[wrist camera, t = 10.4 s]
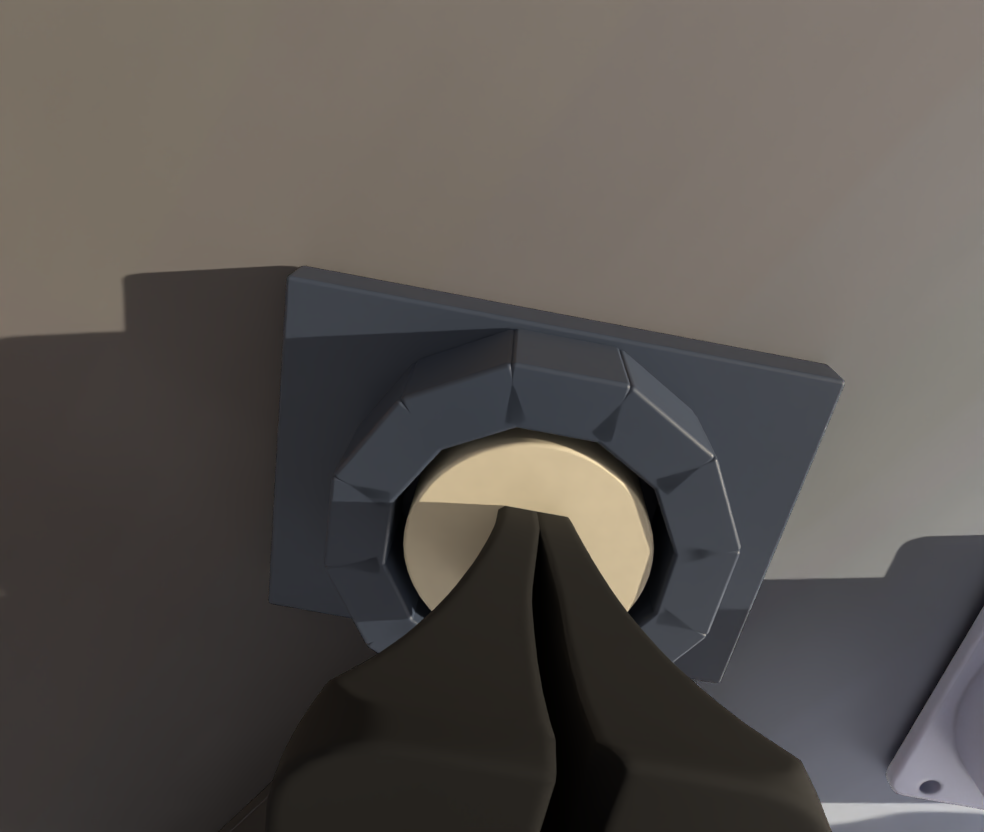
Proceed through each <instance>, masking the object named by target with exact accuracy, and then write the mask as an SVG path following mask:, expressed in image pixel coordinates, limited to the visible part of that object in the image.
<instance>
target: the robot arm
mask: <svg viewBox="0 0 984 832" xmlns="http://www.w3.org/2000/svg"><path fill="white" fill-rule="evenodd" d="M886 778H887V780H888V782H889V784H890V786H891V788H892V790H894V791H895V792H896V793H898V794H901V795H904V796H909V797H915V798H921V799H926V800H932V801H938V802H943V803H949V804H955V805H961V806H966V807H972V808H978V809H983V810H984V606H983V608H982V610H981V611H980V613H979V615H978V616H977V618H976V620H975V621H974V623H973V625H972V627H971V628H970V630H969V632H968V633H967V635H966V637H965V638H964V640H963V642H962V643H961V645H960V647H959V648H958V650H957V652H956V654H955V655H954V657H953V659H952V660H951V662H950V664H949V665H948V667H947V669H946V670H945V672H944V674H943V676H942V677H941V679H940V681H939V682H938V684H937V686H936V687H935V689H934V691H933V692H932V694H931V696H930V698H929V699H928V701H927V703H926V704H925V706H924V708H923V709H922V711H921V713H920V714H919V716H918V718H917V719H916V721H915V723H914V725H913V726H912V728H911V730H910V731H909V733H908V735H907V736H906V738H905V740H904V741H903V743H902V745H901V747H900V748H899V750H898V752H897V753H896V755H895V757H894V758H893V760H892V762H891V763H890V765H889V767H888V769H887V771H886ZM265 832H832V831H831V828H830V826H829V823H828V821H827V818H826V816H825V813H824V810H823V808H822V805H821V803H820V800H819V798H818V795H817V793H816V791H815V789H814V786H813V784H812V782H811V780H810V778H809V776H808V774H807V772H806V770H805V768H804V766H803V764H802V762H801V760H799V759H798V758H796V757H795V756H793V755H792V754H790V753H789V752H787V751H786V750H784V749H783V748H781V747H780V746H778V745H777V744H775V743H773V742H772V741H770V740H769V739H767V738H766V737H764V736H763V735H761V734H760V733H758V732H757V731H755V730H754V729H752V728H751V727H749V726H748V725H747V724H745V723H744V722H743V721H741V720H740V719H739V718H737V717H736V716H735V715H733V714H732V713H731V712H730V711H728V710H727V709H726V708H724V707H723V706H722V705H720V704H719V703H718V702H717V701H715V700H714V699H713V698H712V697H711V696H709V695H708V694H707V693H706V692H705V691H703V690H702V689H701V688H700V687H699V686H698V685H696V684H695V683H694V682H693V681H692V680H691V679H690V678H689V677H688V676H687V675H686V674H685V673H683V672H682V671H681V670H680V669H679V668H678V667H677V666H676V665H675V664H674V663H673V662H672V661H671V660H670V659H669V658H668V657H667V656H666V655H665V654H664V653H663V652H662V651H661V650H660V649H659V648H658V647H657V646H656V645H655V643H654V642H653V641H652V640H651V639H650V638H649V637H648V636H647V635H646V633H645V632H644V631H643V630H642V629H641V628H640V627H639V625H638V624H637V623H636V622H635V621H634V619H633V618H632V617H631V616H630V614H629V613H628V612H627V610H626V609H625V608H624V606H623V605H622V604H621V602H620V601H619V600H618V598H617V597H616V595H615V594H614V592H613V591H612V590H611V588H610V587H609V585H608V583H607V582H606V580H605V579H604V577H603V576H602V574H601V573H600V571H599V569H598V568H597V566H596V565H595V563H594V561H593V560H592V558H591V556H590V554H589V553H588V551H587V549H586V547H585V546H584V544H583V542H582V540H581V538H580V537H579V535H578V533H577V531H576V529H575V527H574V525H573V524H572V522H571V521H570V519H569V518H568V517H565V516H560V515H554V514H549V513H543V512H538V511H532V510H527V509H521V508H516V507H510V506H504V507H502V508H500V509H498V513H497V518H496V523H495V525H494V528H493V530H492V532H491V534H490V536H489V538H488V540H487V541H486V543H485V545H484V546H483V548H482V550H481V551H480V553H479V554H478V556H477V558H476V559H475V561H474V562H473V564H472V565H471V566H470V568H469V569H468V570H467V572H466V573H465V574H464V575H463V577H462V578H461V579H460V581H459V582H458V583H457V585H456V586H455V587H454V588H453V589H452V590H451V592H450V593H449V594H448V595H447V596H446V597H445V598H444V599H443V600H442V601H441V602H440V603H439V604H438V605H437V606H436V607H435V609H434V610H432V611H431V612H430V613H429V614H428V615H427V616H426V617H425V618H424V619H423V620H421V621H420V622H419V623H418V624H417V625H416V626H415V627H414V628H412V629H411V630H410V631H409V632H408V633H406V634H405V635H404V636H402V637H401V638H400V639H398V640H397V641H395V642H394V643H393V644H391V645H390V646H388V647H387V648H385V649H384V650H383V651H381V652H380V653H378V654H377V655H375V656H374V657H372V658H371V659H369V660H368V661H366V662H364V663H362V664H361V665H359V666H357V667H355V668H353V669H351V670H349V671H348V672H346V673H344V674H342V675H340V676H338V677H336V678H334V679H332V680H330V681H329V682H328V683H327V684H326V685H325V687H324V688H323V689H322V691H321V692H320V694H319V695H318V696H317V698H316V699H315V700H314V702H313V703H312V705H311V706H310V708H309V709H308V711H307V712H306V714H305V715H304V717H303V718H302V720H301V721H300V723H299V725H298V726H297V728H296V730H295V732H294V733H293V735H292V737H291V739H290V741H289V743H288V745H287V746H286V749H285V751H284V753H283V755H282V758H281V760H280V763H279V766H278V768H277V771H276V774H275V776H274V779H273V782H272V785H271V788H270V792H269V796H268V799H267V805H266V821H265Z"/></svg>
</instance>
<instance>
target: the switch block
mask: <svg viewBox="0 0 984 832" xmlns="http://www.w3.org/2000/svg"><path fill="white" fill-rule="evenodd" d="M844 385H845V381H844V380H843V379H842V378H841V377H840V376H839V375H838V374H837V373H836V372H835V371H834V370H832V369H831V368H830V367H829V366H828V365H827V364H822V363H817V362H811V361H806V360H801V359H795V358H790V357H785V356H780V355H774V354H769V353H764V352H758V351H753V350H748V349H742V348H737V347H732V346H727V345H721V344H716V343H711V342H705V341H700V340H695V339H689V338H684V337H679V336H674V335H668V334H663V333H658V332H652V331H647V330H642V329H637V328H631V327H626V326H621V325H615V324H610V323H605V322H599V321H594V320H589V319H584V318H578V317H573V316H568V315H562V314H557V313H552V312H546V311H541V310H536V309H531V308H525V307H520V306H515V305H509V304H504V303H499V302H493V301H488V300H483V299H478V298H472V297H467V296H462V295H456V294H451V293H446V292H440V291H435V290H430V289H425V288H419V287H414V286H409V285H403V284H398V283H393V282H387V281H382V280H377V279H372V278H366V277H361V276H356V275H350V274H345V273H340V272H334V271H329V270H324V269H319V268H313V267H308V266H301V267H299V268H298V269H297V270H295V271H294V272H292V273H291V274H290V275H288V277H287V278H286V292H285V310H284V328H283V346H282V364H281V382H280V400H279V418H278V436H277V454H276V472H275V490H274V508H273V526H272V544H271V562H270V580H269V598H268V600H269V603H271V604H275V605H280V606H286V607H292V608H297V609H303V610H308V611H314V612H320V613H325V614H331V615H337V616H342V617H348V618H352V619H353V621H354V623H355V625H356V627H357V629H358V630H359V632H360V634H361V636H362V638H363V640H364V641H365V643H366V644H367V646H368V647H369V648H371V649H372V650H374V651H375V652H377V653H380V652H381V651H383V650H384V649H385V648H387V647H388V646H390V645H391V644H393V643H394V642H395V641H397V640H398V639H400V638H401V637H402V636H404V635H405V634H406V633H408V632H409V631H410V630H411V629H412V628H414V627H415V626H416V625H417V624H418V623H419V622H420V621H421V620H423V619H424V618H425V617H426V616H427V615H428V614H429V613H430V612H431V610H430V609H429V608H428V606H427V605H426V604H425V603H424V601H423V600H422V599H421V597H420V596H419V594H418V592H417V591H416V589H415V587H414V586H413V583H412V581H411V578H410V576H409V573H408V571H407V567H406V563H405V559H404V548H403V540H404V530H405V525H406V521H407V517H408V513H409V510H410V507H411V504H412V500H413V497H414V494H415V490H416V487H417V484H418V480H419V477H420V474H421V472H422V471H423V469H424V468H425V467H426V466H427V465H428V464H429V463H430V462H431V461H432V460H433V459H434V458H435V457H436V456H437V454H438V453H439V452H440V451H441V450H443V449H446V448H450V447H453V446H456V445H459V444H463V443H466V442H469V441H473V440H476V439H479V438H483V437H486V436H489V435H493V434H496V433H499V432H503V431H506V430H509V429H512V428H516V427H517V428H522V429H527V430H533V431H538V432H544V433H549V434H554V435H560V436H565V437H571V438H576V439H581V440H587V441H592V442H597V443H598V444H600V445H601V446H602V447H603V448H605V449H606V450H607V451H608V452H610V453H611V454H612V455H613V456H614V457H616V458H617V459H618V460H619V461H621V462H622V463H623V464H624V465H625V466H627V467H628V468H629V469H630V470H632V471H633V472H634V473H635V474H637V476H638V478H639V482H640V486H641V490H642V494H643V497H644V501H645V505H646V509H647V512H648V516H649V520H650V524H651V528H652V533H653V542H654V553H653V563H652V567H651V571H650V575H649V578H648V580H647V582H646V585H645V587H644V589H643V591H642V593H641V594H640V596H639V598H638V599H637V601H636V602H635V603H634V605H633V606H632V607H631V608H630V610H629V611H628V613H629V614H630V616H631V617H632V618H633V619H634V621H635V622H636V623H637V624H638V625H639V627H640V628H641V629H642V630H643V631H644V632H645V633H646V635H647V636H648V637H649V638H650V639H651V640H652V641H653V642H654V643H655V645H656V646H657V647H658V648H659V649H660V650H661V651H662V652H663V653H664V654H665V655H666V656H667V657H668V658H669V659H670V660H671V661H672V662H673V663H674V664H675V665H676V666H677V667H678V668H679V669H680V670H681V671H682V672H683V673H685V674H686V675H687V676H688V677H689V678H690V679H696V680H701V681H707V682H713V683H720V682H721V679H722V677H723V675H724V672H725V670H726V667H727V665H728V663H729V660H730V658H731V655H732V653H733V651H734V648H735V646H736V644H737V641H738V639H739V636H740V634H741V632H742V629H743V627H744V624H745V622H746V620H747V617H748V615H749V612H750V610H751V608H752V605H753V603H754V600H755V598H756V596H757V593H758V591H759V588H760V586H761V584H762V581H763V579H764V577H765V574H766V572H767V569H768V567H769V565H770V562H771V560H772V557H773V555H774V553H775V550H776V548H777V545H778V543H779V541H780V538H781V536H782V533H783V531H784V529H785V526H786V524H787V522H788V519H789V517H790V514H791V512H792V510H793V507H794V505H795V502H796V500H797V498H798V495H799V493H800V490H801V488H802V486H803V483H804V481H805V478H806V476H807V474H808V471H809V469H810V467H811V464H812V462H813V459H814V457H815V455H816V452H817V450H818V447H819V445H820V443H821V440H822V438H823V435H824V433H825V431H826V428H827V426H828V423H829V421H830V419H831V416H832V414H833V412H834V409H835V407H836V404H837V402H838V400H839V397H840V395H841V392H842V390H843V388H844Z"/></svg>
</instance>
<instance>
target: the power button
mask: <svg viewBox="0 0 984 832" xmlns="http://www.w3.org/2000/svg"><path fill="white" fill-rule="evenodd" d="M504 506H510V507H516V508H521V509H527V510H532V511H538V512H543V513H549V514H554V515H560V516H565V517H568V518H569V519H570V521H571V522H572V524H573V525H574V527H575V529H576V531H577V533H578V535H579V537H580V538H581V540H582V542H583V544H584V546H585V547H586V549H587V551H588V553H589V554H590V556H591V558H592V560H593V561H594V563H595V565H596V566H597V568H598V569H599V571H600V573H601V574H602V576H603V577H604V579H605V580H606V582H607V583H608V585H609V587H610V588H611V590H612V591H613V592H614V594H615V595H616V597H617V598H618V600H619V601H620V602H621V604H622V605H623V606H624V608H625V609H626V610H627V612H628V611H629V610H630V608H631V607H632V606H633V605H634V603H635V602H636V601H637V599H638V598H639V596H640V594H641V593H642V591H643V589H644V587H645V585H646V582H647V580H648V578H649V575H650V571H651V567H652V563H653V553H654V542H653V533H652V528H651V524H650V520H649V516H648V512H647V509H646V505H645V501H644V497H643V494H642V490H641V486H640V482H639V478H638V476H637V474H635V473H634V472H633V471H632V470H630V469H629V468H628V467H627V466H625V465H624V464H623V463H622V462H621V461H619V460H618V459H617V458H616V457H614V456H613V455H612V454H611V453H610V452H608V451H607V450H606V449H605V448H603V447H602V446H601V445H600V444H598V443H597V442H592V441H587V440H581V439H576V438H571V437H565V436H560V435H554V434H549V433H544V432H538V431H533V430H527V429H522V428H517V427H516V428H512V429H509V430H506V431H503V432H499V433H496V434H493V435H489V436H486V437H483V438H479V439H476V440H473V441H469V442H466V443H463V444H459V445H456V446H453V447H450V448H446V449H443V450H441V451H440V452H439V453H438V454H437V456H436V457H435V458H434V459H433V460H432V461H431V462H430V463H429V464H428V465H427V466H426V467H425V468H424V469H423V471H422V472H421V474H420V477H419V480H418V484H417V487H416V490H415V494H414V497H413V500H412V504H411V507H410V510H409V513H408V517H407V521H406V525H405V530H404V540H403V548H404V559H405V563H406V567H407V571H408V573H409V576H410V578H411V581H412V583H413V586H414V587H415V589H416V591H417V592H418V594H419V596H420V597H421V599H422V600H423V601H424V603H425V604H426V605H427V606H428V608H429V609H430V610H431V611H432V610H434V609H435V607H436V606H437V605H438V604H439V603H440V602H441V601H442V600H443V599H444V598H445V597H446V596H447V595H448V594H449V593H450V592H451V590H452V589H453V588H454V587H455V586H456V585H457V583H458V582H459V581H460V579H461V578H462V577H463V575H464V574H465V573H466V572H467V570H468V569H469V568H470V566H471V565H472V564H473V562H474V561H475V559H476V558H477V556H478V554H479V553H480V551H481V550H482V548H483V546H484V545H485V543H486V541H487V540H488V538H489V536H490V534H491V532H492V530H493V528H494V525H495V523H496V518H497V513H498V509H500V508H502V507H504Z"/></svg>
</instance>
